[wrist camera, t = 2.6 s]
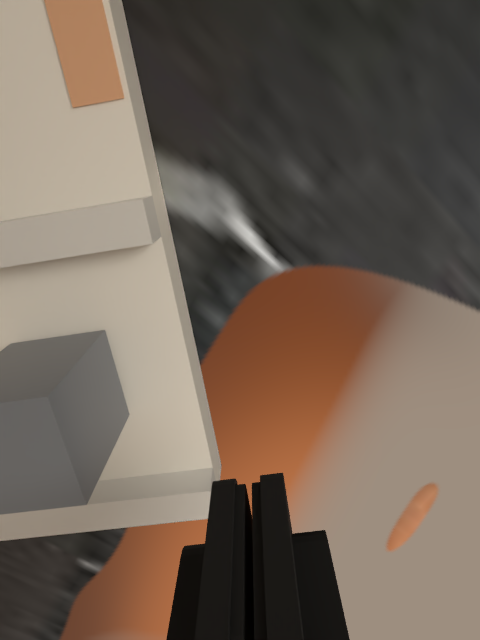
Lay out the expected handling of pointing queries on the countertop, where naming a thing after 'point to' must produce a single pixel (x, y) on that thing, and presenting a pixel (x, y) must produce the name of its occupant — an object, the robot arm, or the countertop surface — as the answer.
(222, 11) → the countertop surface
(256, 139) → the countertop surface
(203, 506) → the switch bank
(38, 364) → the tab
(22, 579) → the countertop surface
